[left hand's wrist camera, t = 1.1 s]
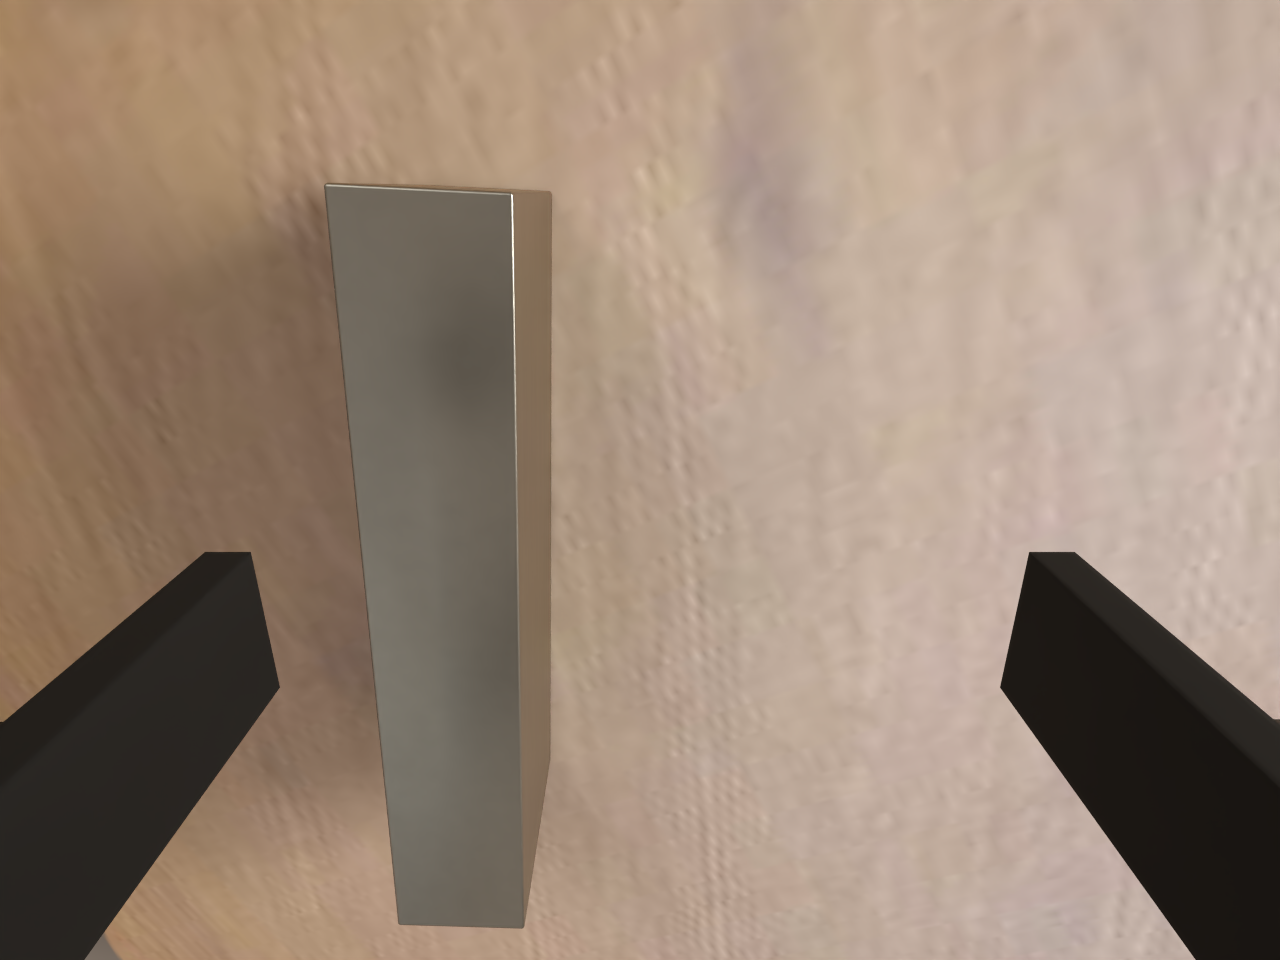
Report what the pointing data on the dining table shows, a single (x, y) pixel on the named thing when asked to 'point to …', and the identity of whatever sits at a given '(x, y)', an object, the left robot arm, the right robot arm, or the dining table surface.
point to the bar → (453, 526)
